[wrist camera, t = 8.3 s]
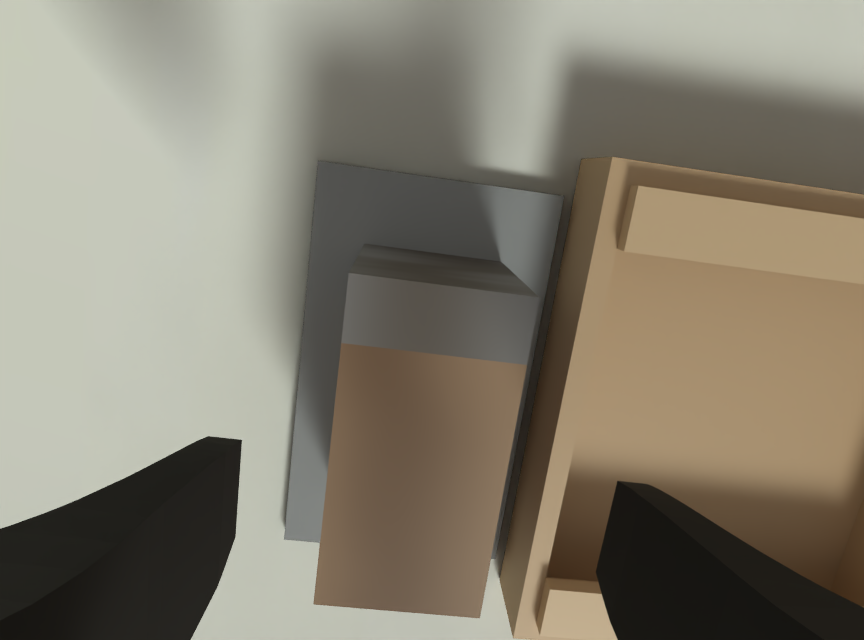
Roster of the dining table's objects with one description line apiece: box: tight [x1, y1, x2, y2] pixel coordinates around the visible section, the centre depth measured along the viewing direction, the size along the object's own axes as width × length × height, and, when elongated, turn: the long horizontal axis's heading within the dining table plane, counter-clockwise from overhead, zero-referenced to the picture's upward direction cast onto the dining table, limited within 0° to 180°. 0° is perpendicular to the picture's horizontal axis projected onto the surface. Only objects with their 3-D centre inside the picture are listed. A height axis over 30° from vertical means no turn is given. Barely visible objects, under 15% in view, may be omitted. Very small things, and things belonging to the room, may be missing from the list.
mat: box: [284, 161, 564, 559], centre depth 18 cm, size 7×12×1 cm, turn 172°
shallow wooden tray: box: [500, 157, 864, 640], centre depth 18 cm, size 12×14×3 cm
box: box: [314, 244, 540, 618], centre depth 15 cm, size 4×8×5 cm, turn 172°
